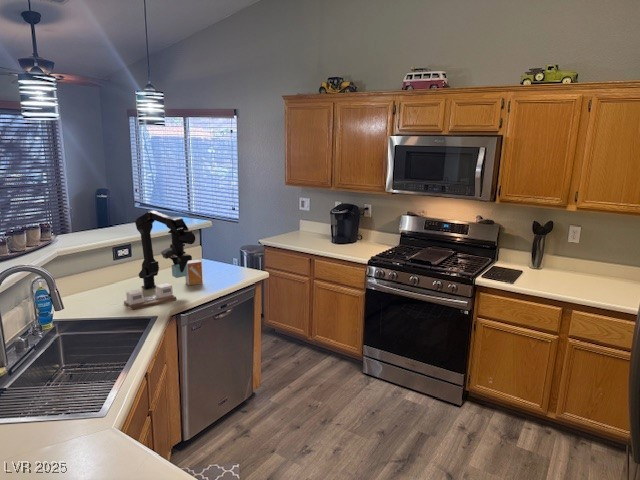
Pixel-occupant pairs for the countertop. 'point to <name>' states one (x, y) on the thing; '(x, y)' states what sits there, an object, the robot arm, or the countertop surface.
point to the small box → (194, 272)
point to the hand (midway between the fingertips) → (179, 271)
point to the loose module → (178, 271)
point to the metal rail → (149, 299)
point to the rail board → (150, 302)
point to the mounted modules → (137, 295)
